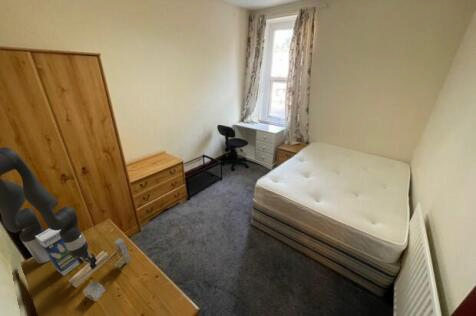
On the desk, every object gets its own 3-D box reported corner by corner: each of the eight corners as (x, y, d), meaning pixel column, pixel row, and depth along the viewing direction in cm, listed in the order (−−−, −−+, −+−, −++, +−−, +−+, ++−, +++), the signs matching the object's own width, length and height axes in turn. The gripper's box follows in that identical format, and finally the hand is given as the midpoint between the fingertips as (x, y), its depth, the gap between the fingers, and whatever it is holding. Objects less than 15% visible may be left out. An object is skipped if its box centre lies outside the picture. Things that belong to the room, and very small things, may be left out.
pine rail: (71, 285, 98) (68, 280, 97) (104, 255, 113) (102, 250, 111) (76, 288, 97) (73, 283, 95) (109, 257, 112) (107, 253, 110)
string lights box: (63, 276, 102) (40, 242, 91) (56, 270, 105) (33, 236, 94) (90, 256, 113) (73, 223, 101) (83, 250, 116) (65, 218, 104)
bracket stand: (86, 296, 93) (72, 276, 86) (124, 256, 112) (116, 236, 105) (96, 301, 91) (83, 281, 84) (133, 260, 110) (125, 240, 103)
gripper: (58, 245, 94) (71, 267, 102) (78, 254, 90) (91, 275, 97) (74, 234, 101) (86, 255, 108) (94, 241, 96) (104, 262, 103)
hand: (88, 265), depth 102 cm, fingers open, 8 cm apart
